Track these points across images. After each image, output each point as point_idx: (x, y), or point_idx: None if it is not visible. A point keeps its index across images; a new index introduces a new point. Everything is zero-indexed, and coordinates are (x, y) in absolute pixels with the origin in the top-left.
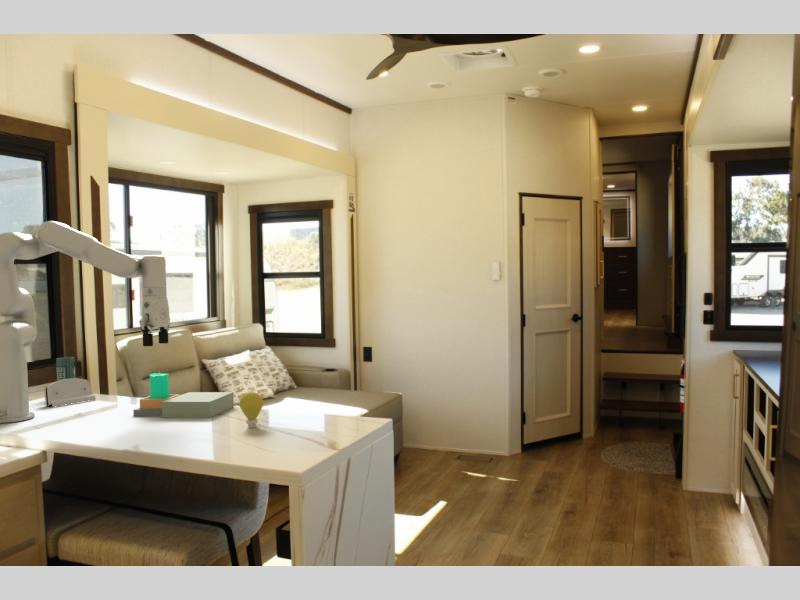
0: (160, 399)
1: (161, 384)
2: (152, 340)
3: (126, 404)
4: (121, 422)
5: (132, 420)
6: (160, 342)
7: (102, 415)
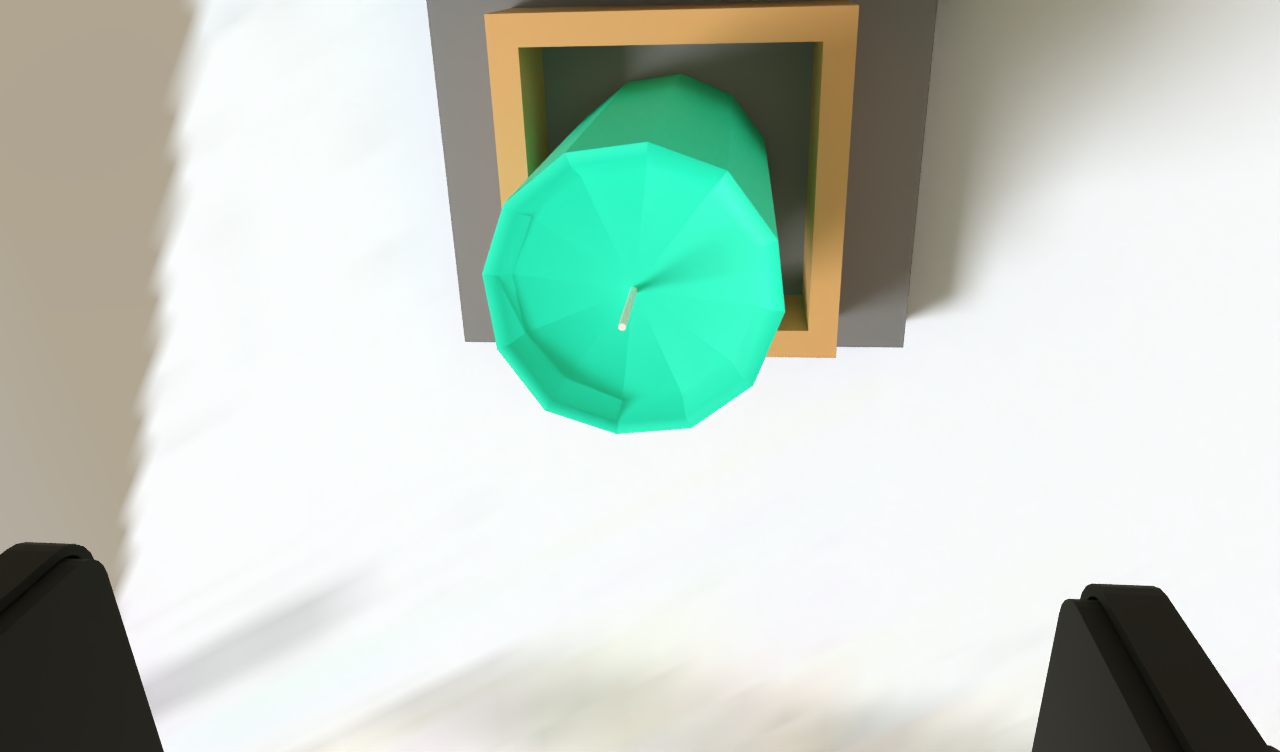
0: (852, 90)
1: (747, 164)
2: (1219, 725)
3: (369, 649)
4: (1198, 280)
5: (1110, 222)
6: (142, 748)
7: (838, 604)
